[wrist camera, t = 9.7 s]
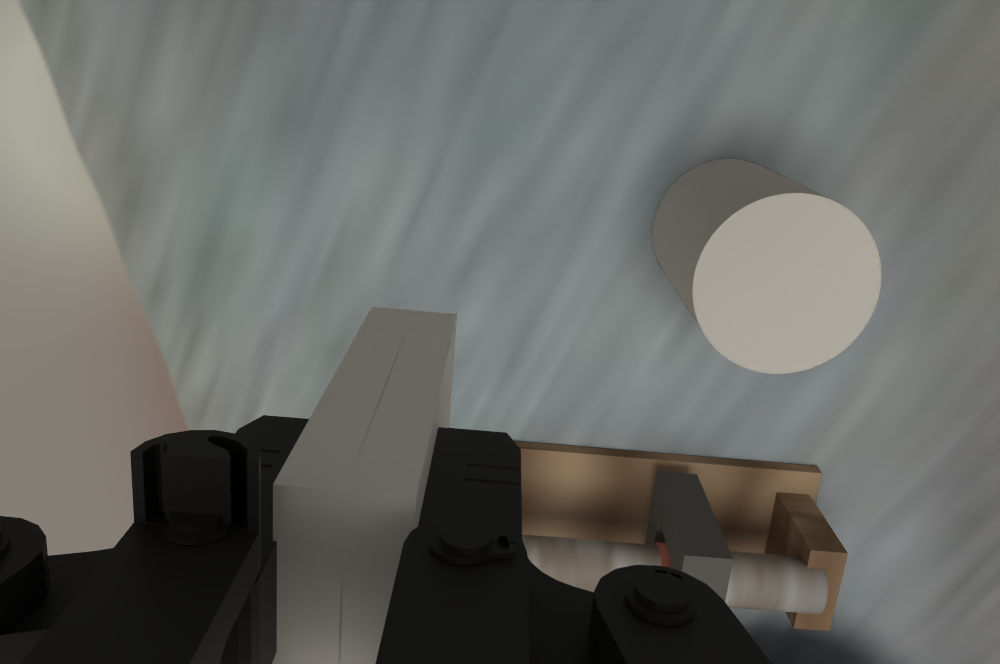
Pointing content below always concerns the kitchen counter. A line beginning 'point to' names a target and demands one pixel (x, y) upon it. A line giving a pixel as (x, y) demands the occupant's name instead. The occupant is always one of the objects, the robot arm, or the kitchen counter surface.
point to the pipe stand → (622, 535)
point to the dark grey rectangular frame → (689, 530)
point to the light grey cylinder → (766, 265)
